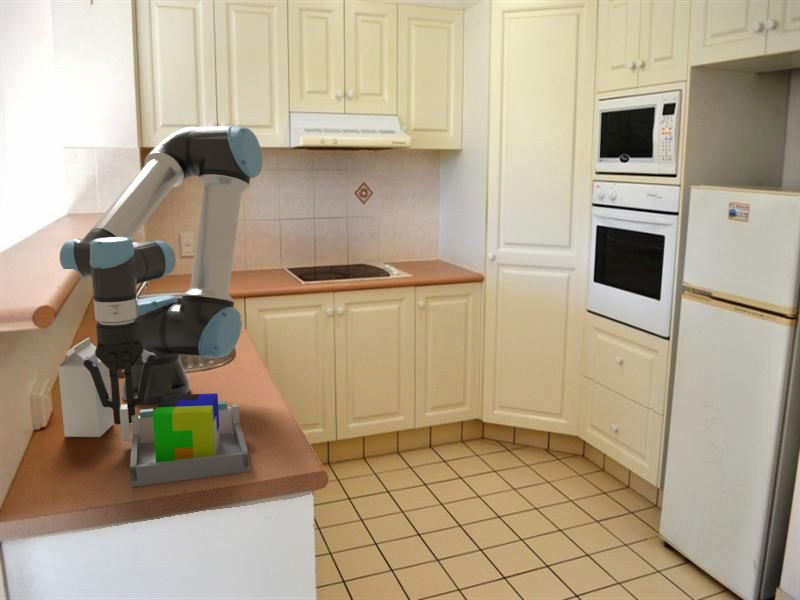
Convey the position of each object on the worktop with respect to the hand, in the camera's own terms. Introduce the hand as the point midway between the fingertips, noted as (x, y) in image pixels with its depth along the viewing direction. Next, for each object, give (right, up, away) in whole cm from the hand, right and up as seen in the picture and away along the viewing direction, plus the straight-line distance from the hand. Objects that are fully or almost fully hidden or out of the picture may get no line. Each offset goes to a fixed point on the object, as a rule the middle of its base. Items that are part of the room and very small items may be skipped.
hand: (126, 438), depth 138 cm
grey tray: (+14, -3, -5) cm, 15 cm away
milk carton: (-11, 0, +8) cm, 14 cm away
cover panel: (+11, -1, +4) cm, 11 cm away
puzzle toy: (+14, -2, -5) cm, 15 cm away
